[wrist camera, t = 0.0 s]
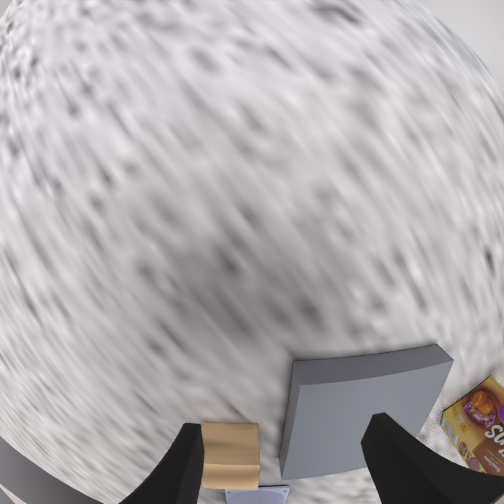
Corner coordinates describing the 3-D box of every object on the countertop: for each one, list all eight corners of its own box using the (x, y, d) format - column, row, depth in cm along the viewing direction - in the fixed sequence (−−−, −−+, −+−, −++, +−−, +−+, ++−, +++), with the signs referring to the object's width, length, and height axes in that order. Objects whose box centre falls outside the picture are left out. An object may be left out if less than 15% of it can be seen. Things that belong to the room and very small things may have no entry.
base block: (394, 439, 23) (403, 456, 21) (278, 458, 23) (281, 480, 20) (437, 344, 20) (454, 360, 17) (294, 360, 20) (300, 385, 17)
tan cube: (255, 451, 23) (257, 489, 18) (207, 450, 23) (202, 487, 18) (257, 423, 22) (260, 465, 17) (202, 421, 22) (196, 462, 17)
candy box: (439, 428, 24) (488, 503, 9) (441, 411, 23) (498, 492, 8) (487, 392, 23) (541, 453, 8) (491, 373, 22) (554, 436, 7)
